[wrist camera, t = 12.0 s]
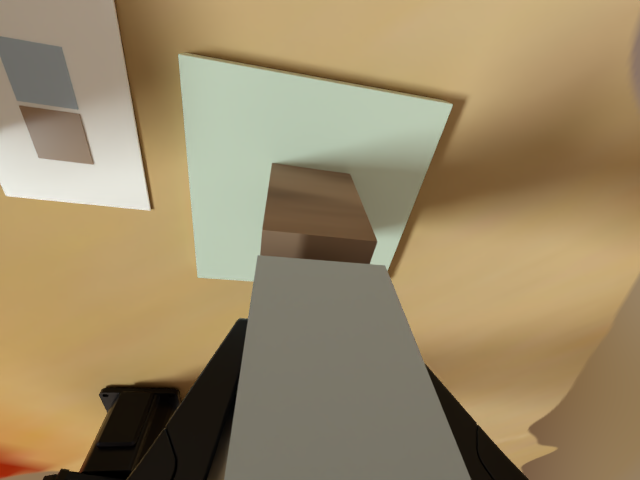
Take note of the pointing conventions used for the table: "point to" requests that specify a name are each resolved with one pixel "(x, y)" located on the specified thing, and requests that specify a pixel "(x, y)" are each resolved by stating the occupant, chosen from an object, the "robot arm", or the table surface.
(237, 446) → the gray block
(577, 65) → the table surface
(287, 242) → the walnut block
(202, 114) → the plate
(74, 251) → the table surface
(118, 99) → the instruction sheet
